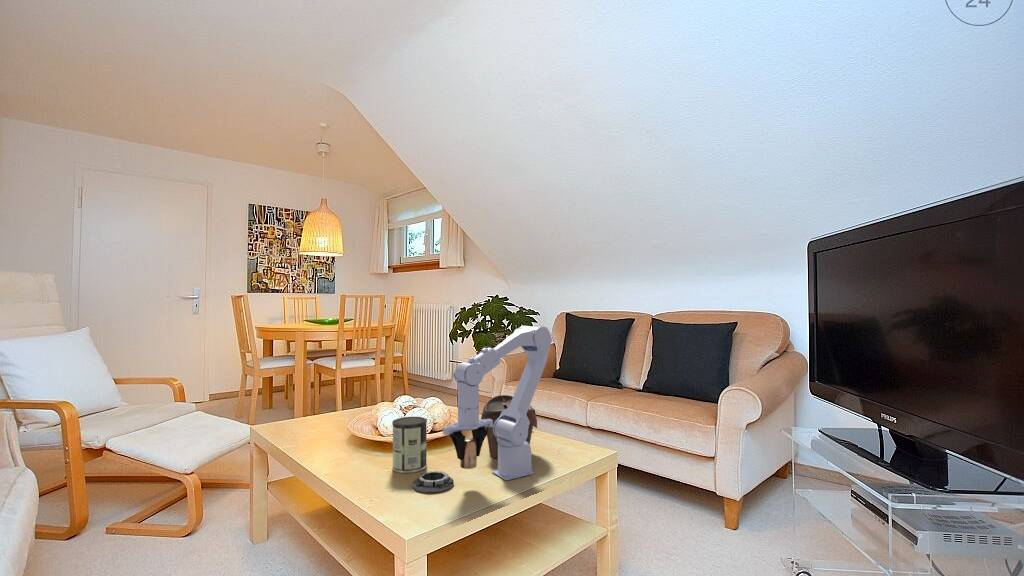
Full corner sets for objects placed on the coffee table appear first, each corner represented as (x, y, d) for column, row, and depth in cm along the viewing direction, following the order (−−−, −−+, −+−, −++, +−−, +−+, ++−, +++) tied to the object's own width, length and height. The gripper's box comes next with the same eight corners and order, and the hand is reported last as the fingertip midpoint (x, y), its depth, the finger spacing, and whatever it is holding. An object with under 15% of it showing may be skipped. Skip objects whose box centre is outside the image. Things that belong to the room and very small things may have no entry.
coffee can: (413, 459, 151) (413, 414, 151) (433, 466, 144) (433, 420, 144) (385, 467, 143) (385, 420, 143) (405, 476, 136) (405, 426, 137)
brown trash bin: (518, 468, 142) (518, 407, 143) (468, 455, 154) (469, 399, 155) (549, 453, 157) (549, 399, 157) (502, 443, 169) (502, 392, 169)
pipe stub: (471, 462, 132) (471, 436, 132) (479, 466, 128) (479, 440, 129) (457, 465, 129) (457, 439, 130) (465, 469, 126) (465, 443, 126)
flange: (442, 474, 137) (442, 466, 137) (460, 487, 128) (460, 478, 128) (406, 483, 131) (406, 474, 131) (422, 496, 122) (422, 487, 122)
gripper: (451, 413, 122) (451, 466, 122) (498, 406, 130) (498, 456, 130) (439, 408, 128) (439, 459, 127) (485, 401, 136) (485, 449, 136)
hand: (468, 457), depth 129 cm, fingers closed on pipe stub, 4 cm apart
